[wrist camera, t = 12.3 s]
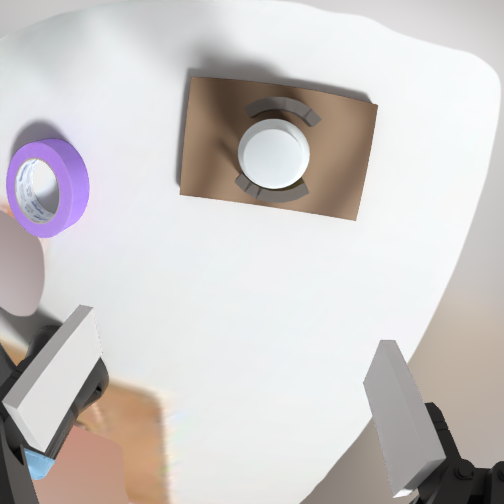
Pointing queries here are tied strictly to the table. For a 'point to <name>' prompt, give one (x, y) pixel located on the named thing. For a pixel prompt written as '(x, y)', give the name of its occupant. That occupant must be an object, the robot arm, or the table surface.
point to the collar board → (291, 110)
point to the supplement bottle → (273, 153)
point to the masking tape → (68, 178)
